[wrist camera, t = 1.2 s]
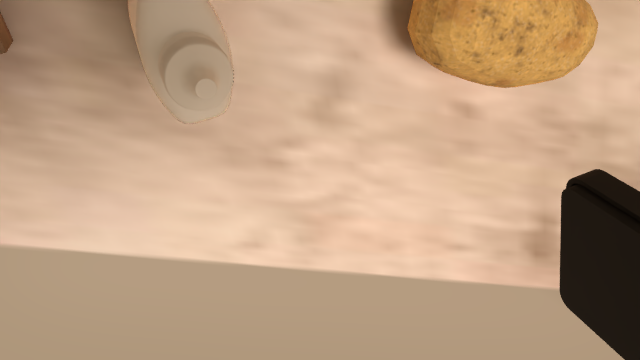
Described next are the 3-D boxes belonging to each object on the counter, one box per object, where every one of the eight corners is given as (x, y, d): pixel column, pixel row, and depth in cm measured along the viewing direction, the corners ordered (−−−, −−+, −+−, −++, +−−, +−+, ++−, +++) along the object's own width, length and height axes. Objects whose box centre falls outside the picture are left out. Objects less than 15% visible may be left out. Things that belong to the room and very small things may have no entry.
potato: (410, -75, 31) (475, -69, 26) (565, -20, 36) (648, -6, 30) (372, 49, 33) (425, 78, 28) (523, 86, 38) (593, 117, 33)
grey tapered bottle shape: (111, 67, 29) (119, 157, 19) (133, -49, 27) (155, -19, 17) (197, 86, 31) (248, 178, 21) (224, -22, 29) (293, 21, 19)
